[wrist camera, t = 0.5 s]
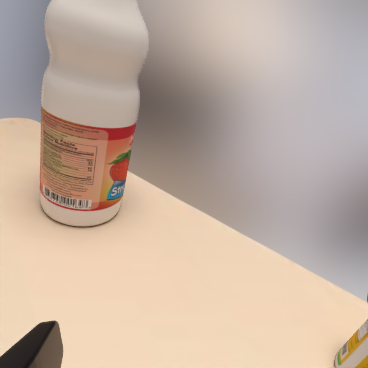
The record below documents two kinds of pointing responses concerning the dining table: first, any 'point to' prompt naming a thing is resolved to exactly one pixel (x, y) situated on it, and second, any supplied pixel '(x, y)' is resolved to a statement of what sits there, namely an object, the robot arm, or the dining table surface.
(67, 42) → the fruit juice
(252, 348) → the dining table surface
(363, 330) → the supplement bottle
